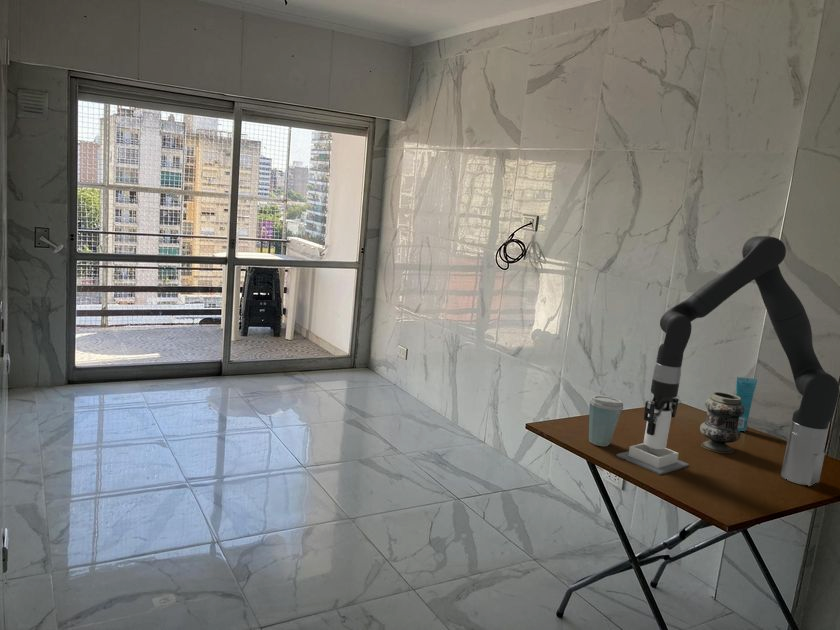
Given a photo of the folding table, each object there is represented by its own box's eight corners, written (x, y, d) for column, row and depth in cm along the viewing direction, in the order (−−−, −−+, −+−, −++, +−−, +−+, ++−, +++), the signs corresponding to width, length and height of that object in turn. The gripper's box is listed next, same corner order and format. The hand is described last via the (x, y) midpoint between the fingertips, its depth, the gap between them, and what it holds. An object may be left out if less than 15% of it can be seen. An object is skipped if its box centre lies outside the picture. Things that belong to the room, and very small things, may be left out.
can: (641, 446, 202) (647, 407, 200) (645, 440, 208) (651, 402, 206) (664, 451, 200) (670, 413, 197) (667, 445, 205) (674, 407, 203)
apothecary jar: (738, 447, 225) (748, 395, 221) (735, 458, 214) (746, 403, 211) (699, 438, 230) (708, 387, 227) (695, 448, 220) (704, 395, 216)
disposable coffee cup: (579, 435, 221) (586, 391, 219) (612, 438, 221) (619, 394, 218) (586, 447, 211) (593, 401, 208) (621, 451, 211) (628, 404, 208)
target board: (688, 465, 204) (690, 454, 203) (659, 474, 194) (662, 463, 194) (645, 448, 215) (647, 437, 214) (616, 456, 206) (618, 444, 205)
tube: (742, 427, 247) (752, 376, 243) (751, 432, 242) (761, 380, 239) (724, 426, 246) (733, 375, 242) (732, 431, 241) (742, 379, 238)
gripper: (663, 385, 193) (654, 440, 196) (691, 380, 202) (681, 433, 205) (640, 377, 199) (631, 432, 202) (668, 373, 207) (659, 425, 210)
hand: (657, 432), depth 203 cm, fingers closed on can, 6 cm apart
